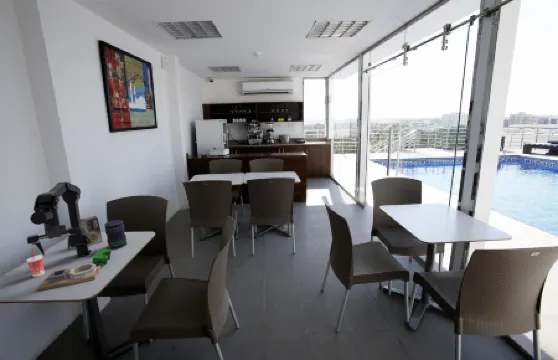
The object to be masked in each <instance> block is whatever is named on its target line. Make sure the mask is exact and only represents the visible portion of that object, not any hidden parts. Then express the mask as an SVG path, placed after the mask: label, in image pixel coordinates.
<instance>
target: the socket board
mask: <svg viewBox="0 0 558 360" xmlns="http://www.w3.org/2000/svg"><path fill="white" fill-rule="evenodd" d="M101 269H102V264H99V265H96V264H93V263H92V262H87V263H82V264H79V265H77V266H75V267H72V268H71V270H70V268H63V269H58V270H54V271H52V272H51V273H50V274H48V276H46V278H45V279H44V281H42V283H41V284H40V285H39V286H38V287H37V290H38V291H44V290H49V289H54V288H59V287H64V286H69V285H70V286H71V285H73V284H79V283H84V282H88V281H92V280H96V278H97V277H98V274H99V273H100V271H101Z"/></svg>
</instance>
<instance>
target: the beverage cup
mask: <svg viewBox="0 0 558 360" xmlns="http://www.w3.org/2000/svg"><path fill="white" fill-rule="evenodd" d="M30 250H31V253H32V256H30V257H29V258H27V259H26V260H25V262H26V263H27V265H28V269H29V271H30V273H31V276H32V278H37V277H40V276H42V275H44V274H45V269H44V268H45V266H44V263H43V257H44V256H43V254H42V255H41V254H40V255H39V254H38V255H35V254H34V250H33V248H31V249H30Z"/></svg>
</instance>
